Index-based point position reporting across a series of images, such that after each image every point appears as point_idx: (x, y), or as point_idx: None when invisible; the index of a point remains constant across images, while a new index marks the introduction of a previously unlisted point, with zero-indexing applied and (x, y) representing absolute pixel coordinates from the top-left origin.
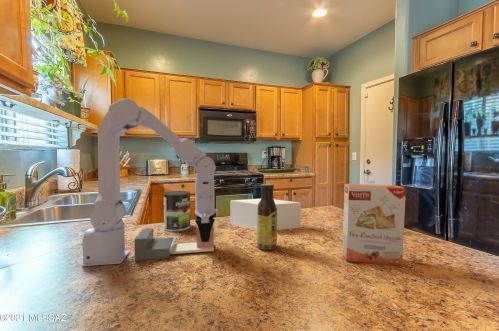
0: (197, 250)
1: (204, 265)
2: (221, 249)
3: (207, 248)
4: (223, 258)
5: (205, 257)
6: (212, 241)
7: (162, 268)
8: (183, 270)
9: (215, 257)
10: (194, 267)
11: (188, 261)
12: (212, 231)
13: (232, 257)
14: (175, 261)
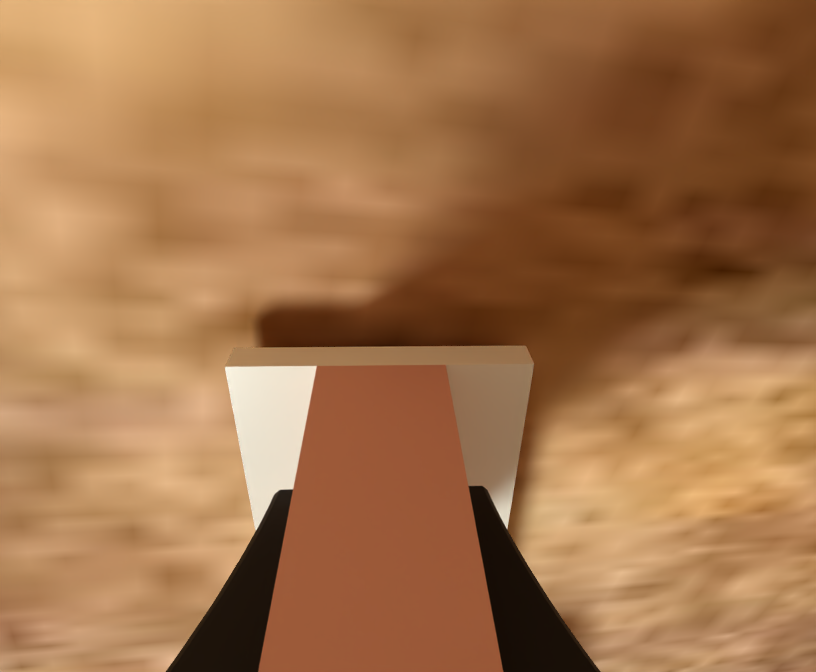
0: (507, 521)
1: (811, 424)
2: (433, 224)
3: (502, 436)
4: (757, 219)
5: (623, 418)
6: (455, 428)
7: (682, 660)
8: (799, 558)
9: (675, 317)
10: (797, 496)
11: (646, 542)
12: (482, 589)
13: (799, 75)
14: (599, 616)
